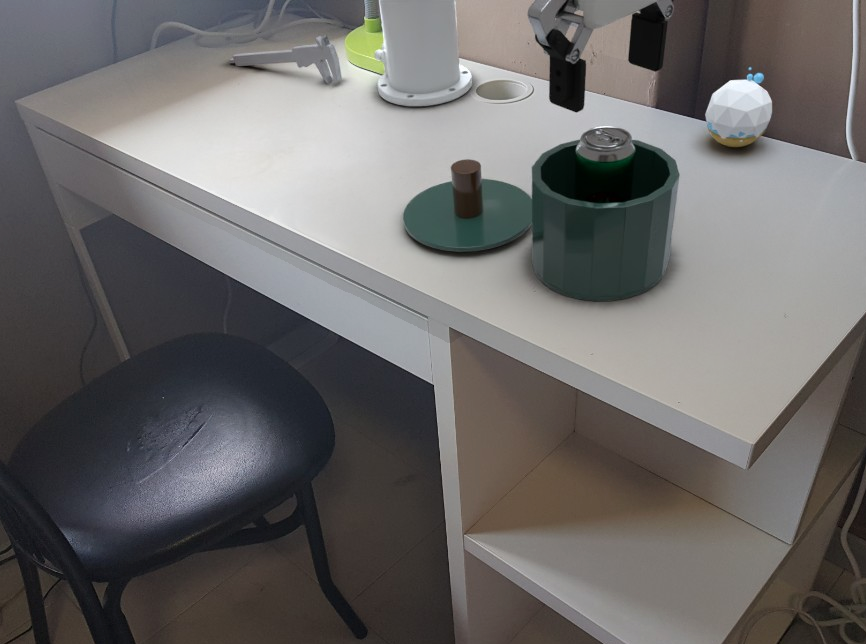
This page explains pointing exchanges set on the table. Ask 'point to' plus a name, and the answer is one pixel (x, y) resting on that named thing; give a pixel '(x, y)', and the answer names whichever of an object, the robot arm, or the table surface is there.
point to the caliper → (298, 58)
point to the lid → (468, 212)
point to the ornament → (739, 112)
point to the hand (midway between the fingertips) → (606, 86)
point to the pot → (602, 227)
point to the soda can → (604, 165)
